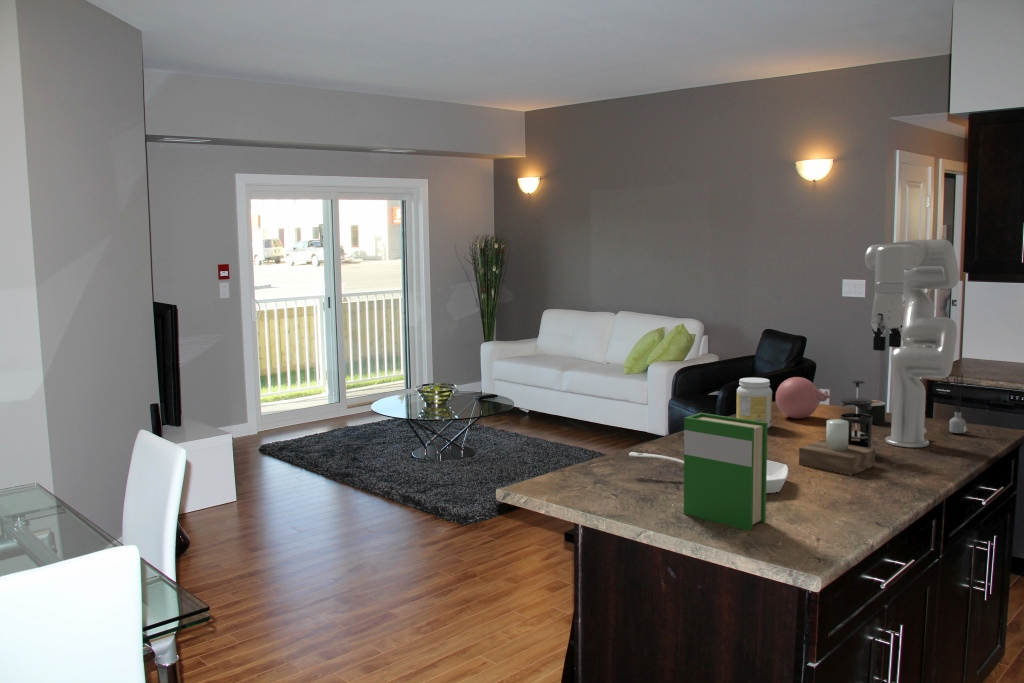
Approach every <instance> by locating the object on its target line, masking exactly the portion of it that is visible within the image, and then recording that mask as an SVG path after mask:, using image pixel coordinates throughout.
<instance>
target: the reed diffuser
mask: <svg viewBox="0 0 1024 683" xmlns="http://www.w3.org/2000/svg"><path fill="white" fill-rule="evenodd" d="M945 378H946V380H947V383H948V386H949V390H950V393H951V396H952V400H953V403H954V406H955V409H956V411H954V417H952V418H950V420H949V433H954V434H964V433H966V432H967V431H968V428H967V425H966V424H967V422H966V420H965V419H963V417H962V412H961V405H962V404H961V403H962V391H963V381H964V380H963V378H964V374H961V383H960V391H959V377H958V375H956V378H953V382H954V384H953V385H954V394H953V390H952V388H951V386H950V382H949V381H950V380H949V378H948V376H947V377H945ZM956 384H957V385H956ZM959 393H960V394H959ZM954 396H955V398H954Z"/></svg>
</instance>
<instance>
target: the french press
mask: <svg viewBox="0 0 1024 683" xmlns="http://www.w3.org/2000/svg"><path fill="white" fill-rule="evenodd" d="M849 382H850V383H851V384H852V383H853V384H855V388H856V397H846V398H845V397H844V398H841V400H840V401H841V402H842V407H843V408H844V407H845V406H855V412H849V413H841V414H840V420H846V421H848V422H849V435H848V444H849V445H855V446H860V447H866V448H871V449H872V426H873V425H872V416H870V415H869V414H859V412H858V410H859V409H861V410H869V409H871V403H873V401H872V400H873V399H868V398H862V397H861V398H860V397H859V396H858V395H859V388H860V384H866V381H864V380H859V379H858V380H857V379H855V380H854V379H852V380H850V381H849ZM859 418H861V419H859ZM853 424H855V429H854V430H853ZM858 424H860V425H859V426H860V427H859V428H860V429H859V431H858V430H857V429H858V428H857V427H858ZM852 439H853V440H852ZM854 439H855V440H854Z"/></svg>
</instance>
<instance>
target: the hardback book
mask: <svg viewBox="0 0 1024 683" xmlns="http://www.w3.org/2000/svg"><path fill="white" fill-rule="evenodd" d="M683 421H684V422H683V424H684V426H683V429H684V430H683V432H684V433H683V436H684V438H683V439H684V440H683V447H684V448H683V461H684V464H683V514H684V515H685V514H687V516H689V515H691V517H693V516H695V518H697V517H699V518H698V519H701V518H702V520H705V519H706V521H709V520H710V521H711V522H713V523H717V522H718V524H721V523H722V524H723V525H725V524H726V525H727V526H729V525H730V526H729V527H734V528H738V529H741V530H746V531H750V532H751V531H753V528H754V527H753V526H754V524H757V523H761V524H765V523H766V522H767V520H766V519H767V515H766V514H767V494H766V477H767V460H768V428H767V425H768V423H767V422H760V421H753V420H746V419H740V418H736V417H732V416H727V415H726V416H724V415H719V414H711V413H704V412H699V413H695V414H693V415H689V416H686V417H684V419H683Z"/></svg>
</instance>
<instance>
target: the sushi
mask: <svg viewBox="0 0 1024 683" xmlns="http://www.w3.org/2000/svg"><path fill="white" fill-rule="evenodd" d="M871 400H872V401H873V403H871V409H869V410H861V409H859V408H858V413H859V414H869V415H870V416H872V424H875V425H884V424H885V423H886V422H885V421H886V402H884V401H881V400H875V399H871ZM858 419H861V418H858Z"/></svg>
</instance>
